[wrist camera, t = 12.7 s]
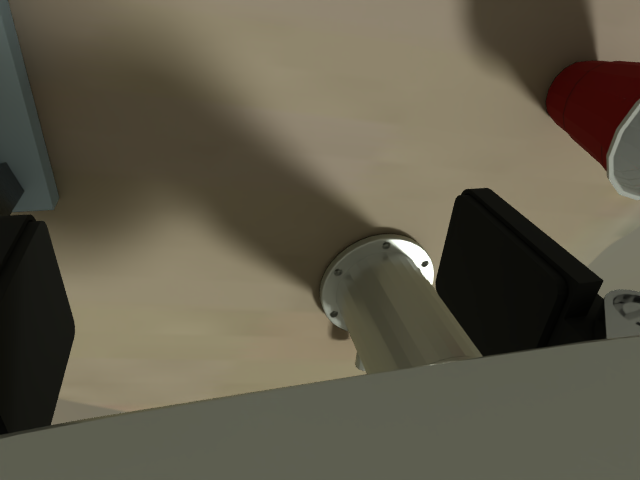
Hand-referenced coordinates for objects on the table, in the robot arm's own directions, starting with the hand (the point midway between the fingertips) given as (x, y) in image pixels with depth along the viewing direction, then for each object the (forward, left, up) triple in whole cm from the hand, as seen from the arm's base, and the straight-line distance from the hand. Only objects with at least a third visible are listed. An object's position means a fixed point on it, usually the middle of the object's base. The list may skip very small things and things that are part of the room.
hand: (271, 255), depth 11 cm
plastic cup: (-4, -33, -28) cm, 44 cm away
